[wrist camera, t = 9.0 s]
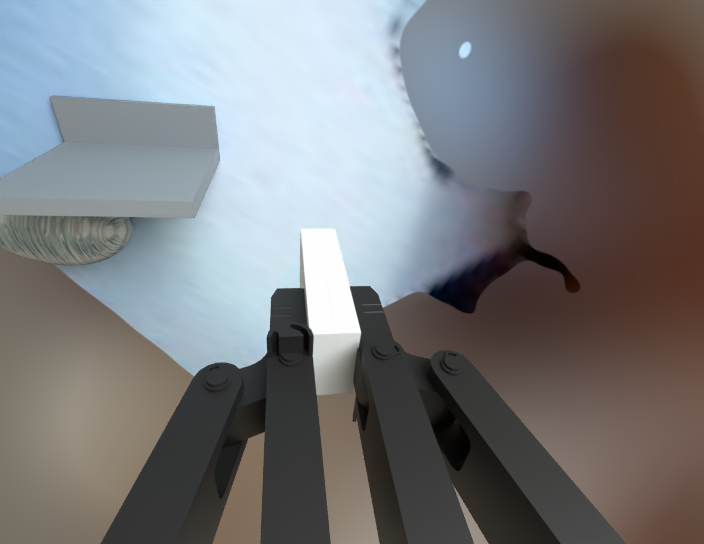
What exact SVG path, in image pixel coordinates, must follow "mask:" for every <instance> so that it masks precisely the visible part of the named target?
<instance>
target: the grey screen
mask: <svg viewBox="0 0 704 544" xmlns="http://www.w3.org/2000/svg"><path fill="white" fill-rule="evenodd" d="M50 100H51V103H52V106H53V109H54V112H55V115H56V118H57V121H58V124H59V127H60V130H61V133H62V136H63V139H64V142H63V143H61V144H60V145H58V146H56V147H55V148H53V149H51V150H49V151H48V152H46V153H44V154H42V155H41V156H39V157H37V158H35V159H34V160H32V161H30V162H28V163H27V164H25V165H23V166H21V167H20V168H18V169H16V170H14V171H13V172H11V173H9V174H8V175H6V176H4V177H2V178H1V179H0V215H33V216H99V217H165V218H195V216H196V214H197V212H198V209H199V207H200V205H201V202H202V200H203V198H204V195H205V193H206V191H207V189H208V186H209V184H210V182H211V179H212V177H213V175H214V172H215V170H216V168H217V166H218V163H219V161H220V154H219V145H218V135H217V126H216V116H215V107H214V106H202V105H187V104H172V103H157V102H142V101H127V100H112V99H96V98H81V97H66V96H51V97H50Z"/></svg>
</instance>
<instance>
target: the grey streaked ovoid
mask: <svg viewBox="0 0 704 544" xmlns="http://www.w3.org/2000/svg"><path fill="white" fill-rule="evenodd" d="M131 234H132V223H131V220H130V218H129V217H99V216H33V215H0V246H1V247H2V248H4V249H6V250H7V251H9V252H12V253H14V254H17V255H20V256H23V257H25V258H28V259H33V260H37V261H41V262H45V263H52V264H58V265H85V264H91V263H95V262H100V261H102V260H105V259H108V258H110V257H111V256H113V255H115V254H116V253H118V252H119V251H121V250H122V249H123V248H124V247H125V246H126V245H127V243H128V241H129V240H130V237H131Z"/></svg>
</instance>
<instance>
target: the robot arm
mask: <svg viewBox="0 0 704 544" xmlns="http://www.w3.org/2000/svg"><path fill="white" fill-rule="evenodd" d="M353 385H354V387H355V392H356V399H355V405H354V412H353V422H354V421H356V418H357V422H358V427H359V433H360V438H361V443H362V449H363V455H364V460H365V465H366V470H367V476H368V481H369V487H370V493H371V498H372V504H373V509H374V515H375V519H376V525H377V530H378V536H379V542H380V544H474V543H473V539H472V537H471V534H470V531H469V528H468V526H467V523H466V520H465V517H464V514H463V512H462V509H461V506H460V503H459V501H458V498H457V495H456V492H455V490H454V487H455V488H456V490H457V492H458V493H459V495H460V496H461V498H462V500H463V502H464V503H465V505H466V507H467V508H468V510H469V512H470V513H471V515H472V517H473V518H474V520H475V522H476V523H477V525H478V527H479V528H480V530H481V532H482V533H483V535H484V537H485V538H486V540H487V542H488V543H489V544H626V543H625V542H624V541H623V539H622V538H621V537H620V536H619V535H618V534H617V532H616V531H615V530H614V529H613V528H612V527H611V525H610V524H609V523H608V522H607V521H606V520H605V518H604V517H603V516H602V515H601V514H600V513H599V511H598V510H597V509H596V508H595V507H594V506H593V504H592V503H591V502H590V501H589V500H588V499H587V497H586V496H585V495H584V494H583V493H582V492H581V490H580V489H579V488H578V487H577V486H576V485H575V483H574V482H573V481H572V480H571V479H570V478H569V477H568V475H567V474H566V473H565V472H564V471H563V469H562V468H561V467H560V466H559V465H558V464H557V462H556V461H555V460H554V459H553V458H552V457H551V455H550V454H549V453H548V452H547V451H546V449H545V448H544V447H543V446H542V445H541V444H540V442H539V441H538V440H537V439H536V438H535V437H534V435H533V434H532V433H531V432H530V431H529V430H528V429H527V427H526V426H525V425H524V424H523V423H522V422H521V420H520V419H519V418H518V417H517V416H516V414H515V413H514V412H513V411H512V410H511V409H510V408H509V406H508V405H507V404H506V403H505V402H504V401H503V399H502V398H501V397H500V396H499V395H498V393H497V392H496V391H495V390H494V389H493V388H492V386H491V385H490V384H489V383H488V382H487V381H486V379H485V378H484V377H483V376H482V375H481V374H480V373H479V371H478V370H477V369H476V368H475V367H474V365H473V364H472V363H471V362H470V361H469V360H468V359H467V358H466V357H464V356H463V355H461V354H459V353H457V352H454V351H449V350H444V351H439V352H437V353H435V354H434V355H433V356H432V358H431V359H427V358H423V357H418V356H414V355H411V354H408V353H406V352H405V351H404V350H403V348H402V347H401V345H400V344H398V343H397V342H396V341H394V339H393V337H392V334H391V331H390V328H389V325H388V322H387V320H386V317H385V314H384V311H383V308H382V305H381V302H380V299H379V296H378V294H377V293H376V292H375V291H374V290H373V289H372V288H371V287H370V286H349V282H348V278H347V274H346V270H345V266H344V262H343V258H342V254H341V250H340V246H339V242H338V238H337V234H336V230H335V229H301V239H300V288H284V289H277V290H276V291H275V293H274V294H273V295H272V297H271V317H270V331H269V332H268V335H267V354H266V355H265V356H264V357H263V358H262V359H261V360H260V361H258V362H257V363H255V364H253V365H250V366H248V367H244V368H241V369H239V368H237V367H236V366H235V365H233V364H229V363H215V364H211V365H208V366H206V367H205V368H203V369H201V370H200V371H199V372H198V373H197V374H196V375H195V377H194V378H193V380H192V381H191V383H190V385H189V387H188V388H187V390H186V392H185V394H184V396H183V397H182V399H181V401H180V403H179V405H178V406H177V408H176V410H175V412H174V414H173V415H172V417H171V419H170V421H169V422H168V424H167V426H166V428H165V430H164V431H163V433H162V435H161V437H160V439H159V440H158V442H157V444H156V446H155V447H154V449H153V451H152V453H151V455H150V457H149V458H148V460H147V462H146V464H145V465H144V467H143V469H142V471H141V472H140V474H139V476H138V478H137V480H136V481H135V483H134V485H133V487H132V489H131V490H130V492H129V494H128V496H127V498H126V499H125V501H124V503H123V505H122V506H121V508H120V510H119V512H118V514H117V515H116V517H115V519H114V521H113V523H112V524H111V526H110V528H109V530H108V532H107V533H106V535H105V537H104V539H103V540H102V542H101V544H212V543H213V540H214V537H215V534H216V531H217V528H218V525H219V522H220V519H221V516H222V513H223V511H224V507H225V505H226V502H227V499H228V496H229V493H230V490H231V487H232V484H233V481H234V479H235V476H236V473H237V470H238V467H239V464H240V461H241V458H242V455H243V452H244V449H245V447H246V444H247V441H248V438H250V437H253V436H255V435H258V434H260V433H263V432H265V442H264V467H263V469H264V470H263V494H262V520H261V544H331V543H330V533H329V522H328V511H327V502H326V490H325V480H324V469H323V458H322V448H321V437H320V426H319V416H318V407H317V406H318V405H317V395H326V394H341V393H352V392H353ZM452 483H453V484H452ZM453 485H454V487H453Z"/></svg>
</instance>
